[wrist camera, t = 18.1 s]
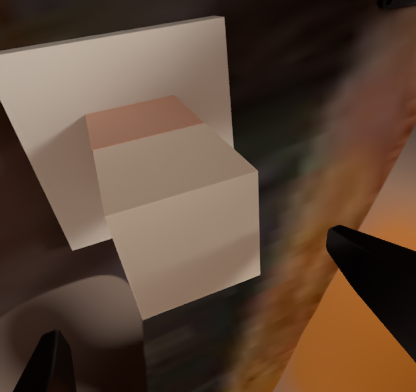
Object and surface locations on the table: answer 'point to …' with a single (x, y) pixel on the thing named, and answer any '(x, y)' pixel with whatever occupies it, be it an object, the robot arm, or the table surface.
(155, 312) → the cream block
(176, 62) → the baseplate
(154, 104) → the terracotta block
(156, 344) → the table surface
